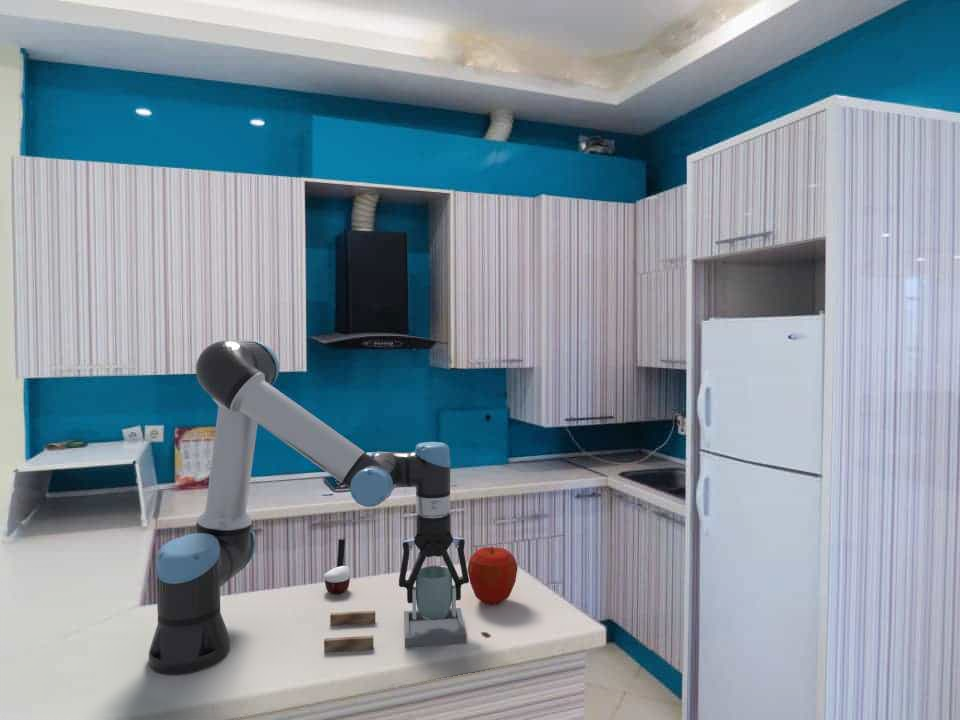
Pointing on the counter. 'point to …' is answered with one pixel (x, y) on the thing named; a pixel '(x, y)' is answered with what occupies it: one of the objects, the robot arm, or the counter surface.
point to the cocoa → (338, 573)
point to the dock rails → (350, 642)
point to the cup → (434, 592)
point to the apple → (492, 574)
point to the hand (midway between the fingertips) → (434, 615)
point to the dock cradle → (434, 630)
